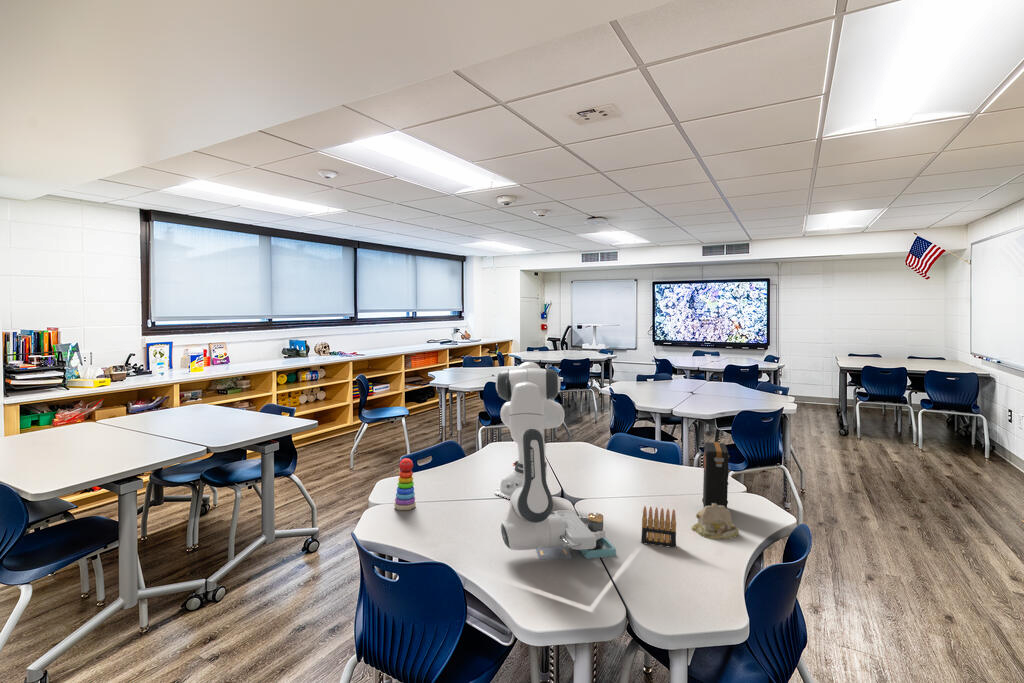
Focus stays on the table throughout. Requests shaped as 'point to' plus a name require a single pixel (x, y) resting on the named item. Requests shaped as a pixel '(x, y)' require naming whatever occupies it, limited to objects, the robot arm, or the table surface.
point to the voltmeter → (715, 474)
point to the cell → (596, 527)
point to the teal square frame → (600, 551)
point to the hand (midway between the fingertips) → (598, 526)
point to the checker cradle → (553, 553)
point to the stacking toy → (405, 487)
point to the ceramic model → (715, 522)
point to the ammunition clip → (659, 528)
